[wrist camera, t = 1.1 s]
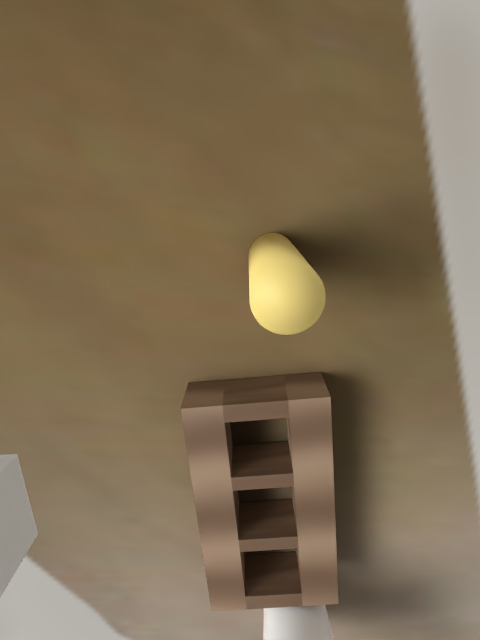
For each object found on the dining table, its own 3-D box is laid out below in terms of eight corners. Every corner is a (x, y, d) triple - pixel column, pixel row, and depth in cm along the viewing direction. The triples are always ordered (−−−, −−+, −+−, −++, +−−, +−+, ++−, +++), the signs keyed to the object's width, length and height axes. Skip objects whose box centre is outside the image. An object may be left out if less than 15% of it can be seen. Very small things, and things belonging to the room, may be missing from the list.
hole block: (188, 382, 32) (180, 408, 28) (320, 372, 32) (330, 397, 28) (215, 568, 38) (211, 611, 34) (329, 561, 37) (338, 604, 33)
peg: (246, 235, 29) (246, 264, 18) (293, 230, 29) (324, 257, 17) (250, 280, 30) (252, 337, 18) (296, 276, 30) (327, 331, 18)
